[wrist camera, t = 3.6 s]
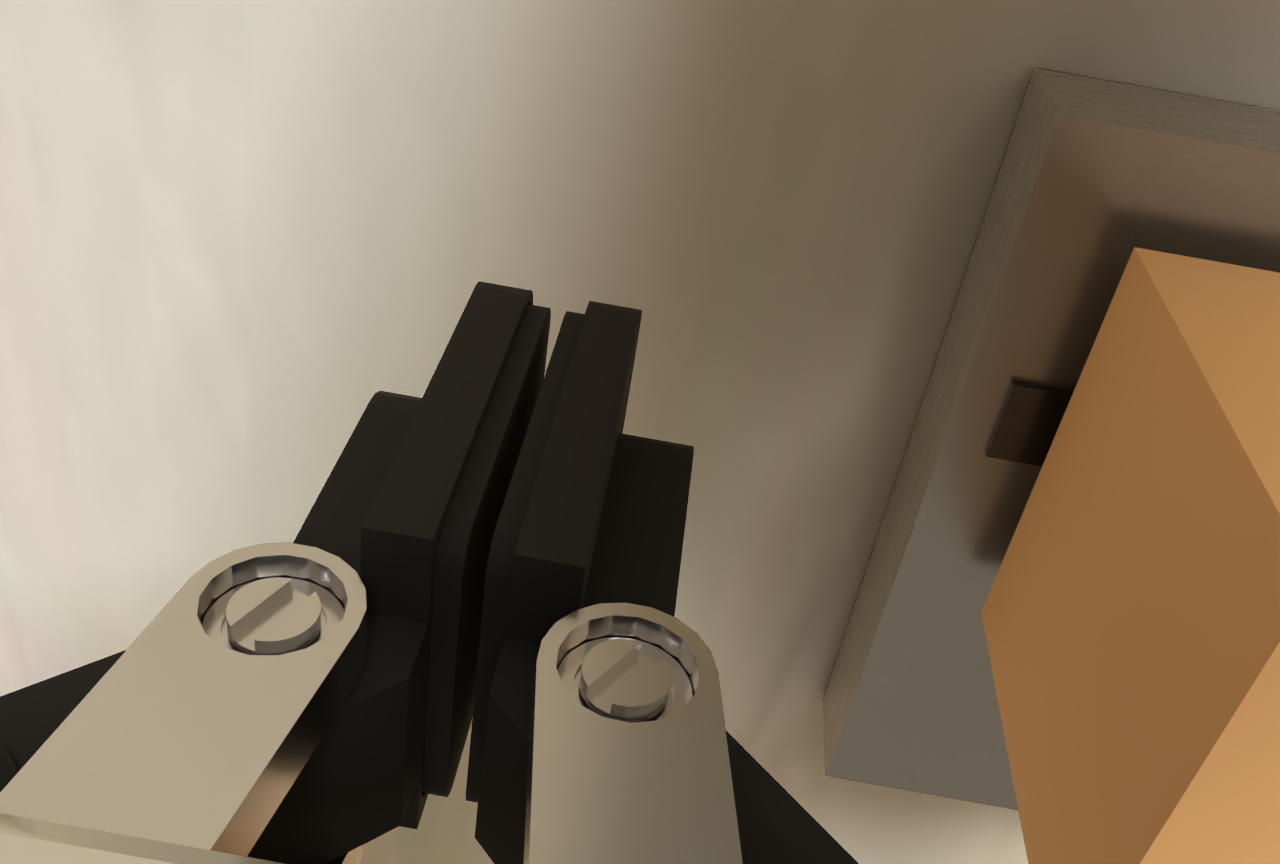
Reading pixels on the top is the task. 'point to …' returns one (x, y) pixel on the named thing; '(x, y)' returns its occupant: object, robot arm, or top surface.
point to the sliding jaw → (1153, 585)
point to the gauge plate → (1025, 400)
